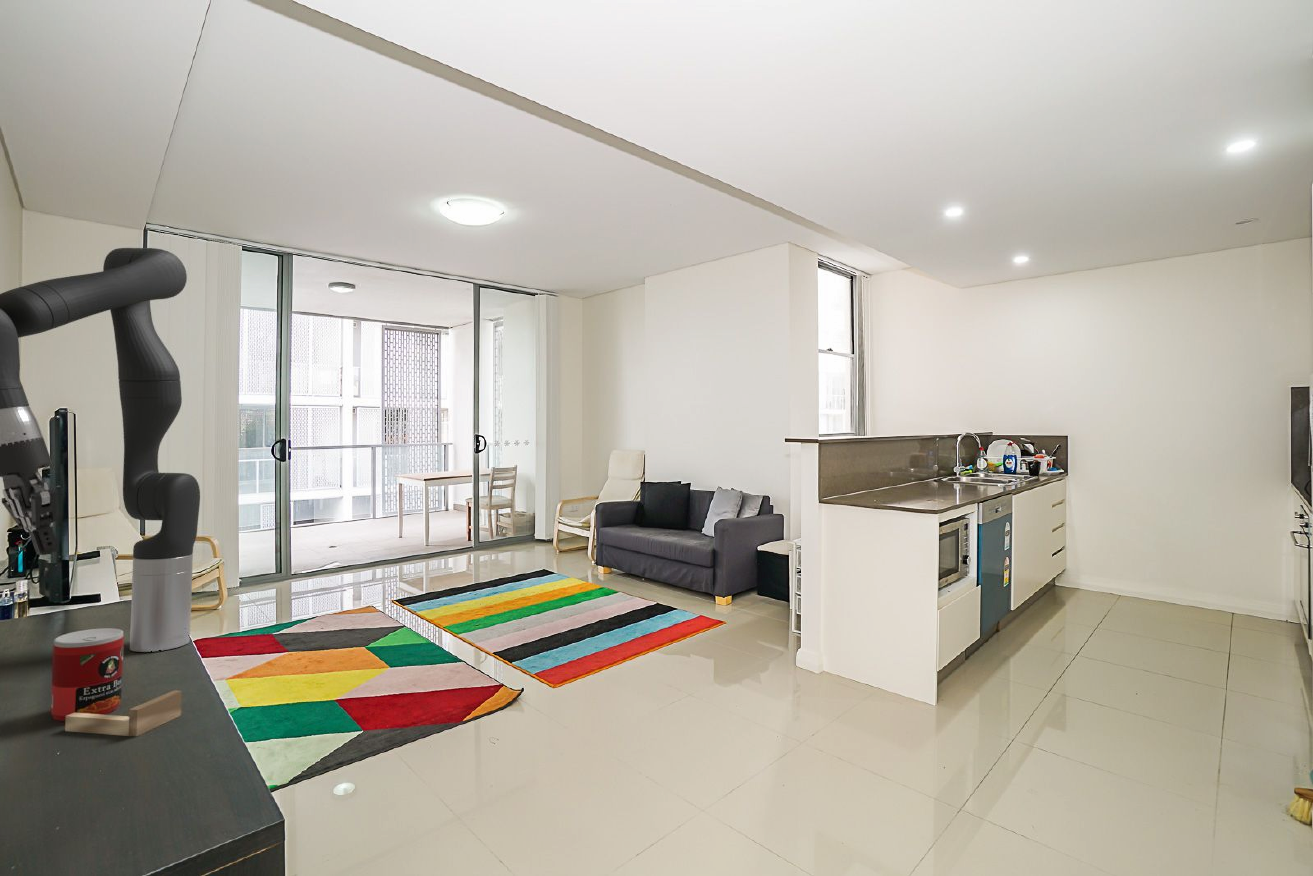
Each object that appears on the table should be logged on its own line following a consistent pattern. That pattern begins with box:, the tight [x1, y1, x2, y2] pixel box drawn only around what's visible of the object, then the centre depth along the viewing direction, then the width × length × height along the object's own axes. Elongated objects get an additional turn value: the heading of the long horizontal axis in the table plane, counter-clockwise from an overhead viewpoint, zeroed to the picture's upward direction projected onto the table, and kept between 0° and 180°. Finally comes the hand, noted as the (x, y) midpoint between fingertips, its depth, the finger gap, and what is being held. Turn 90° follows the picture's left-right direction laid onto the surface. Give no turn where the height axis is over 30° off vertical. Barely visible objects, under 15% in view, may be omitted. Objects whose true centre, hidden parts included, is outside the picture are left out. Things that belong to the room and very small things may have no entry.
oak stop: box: [64, 689, 183, 738], centre depth 90 cm, size 11×7×4 cm, turn 83°
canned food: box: [50, 627, 125, 722], centre depth 94 cm, size 8×8×11 cm
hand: (48, 553), depth 97 cm, fingers closed
